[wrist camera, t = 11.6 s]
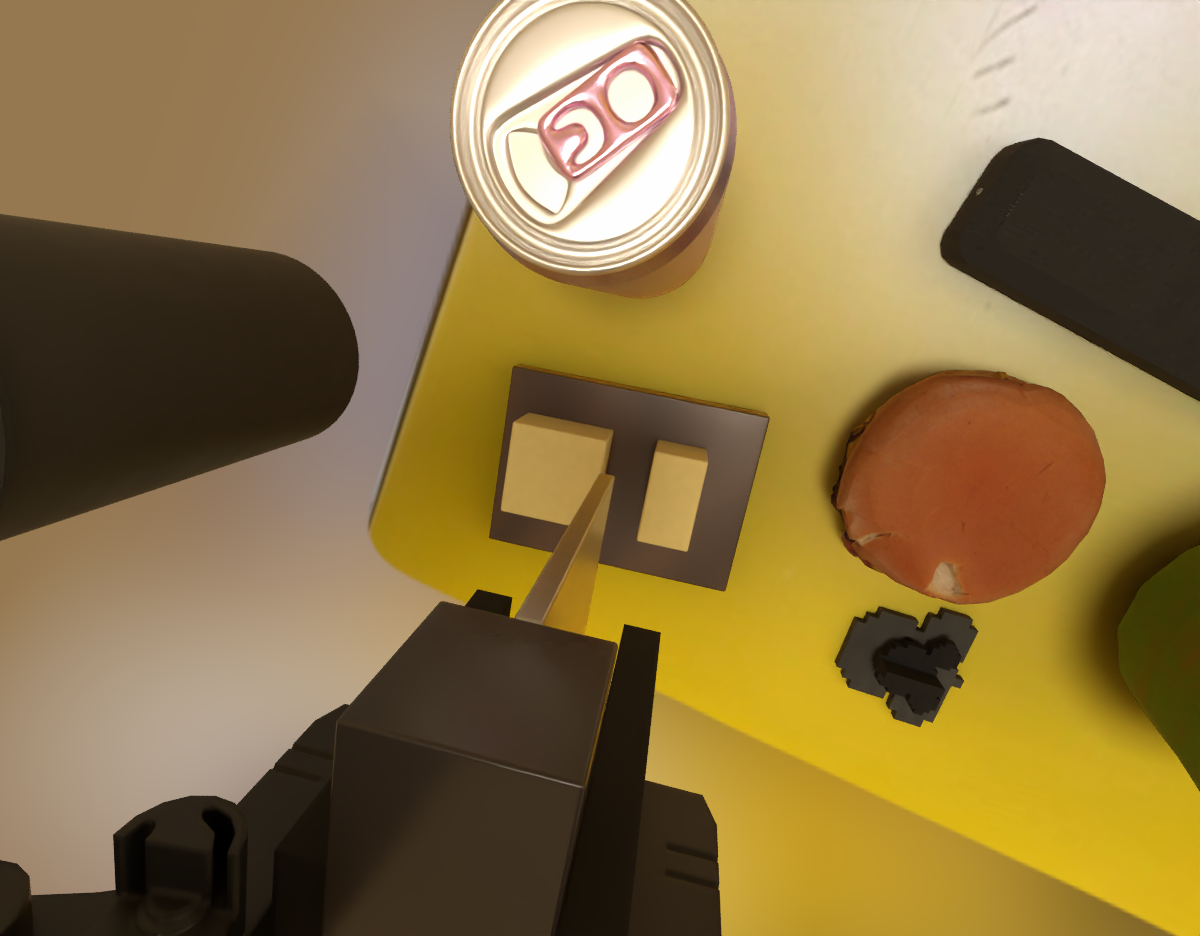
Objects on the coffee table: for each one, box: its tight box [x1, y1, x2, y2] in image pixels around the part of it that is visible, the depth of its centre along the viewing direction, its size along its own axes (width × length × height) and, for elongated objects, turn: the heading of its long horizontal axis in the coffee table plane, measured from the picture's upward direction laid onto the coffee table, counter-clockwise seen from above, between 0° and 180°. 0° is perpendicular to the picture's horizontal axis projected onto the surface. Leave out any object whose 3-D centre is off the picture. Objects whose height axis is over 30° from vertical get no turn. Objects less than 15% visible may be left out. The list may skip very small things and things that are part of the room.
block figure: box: [835, 607, 978, 727], centre depth 28 cm, size 6×2×6 cm
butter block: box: [501, 413, 613, 526], centre depth 27 cm, size 4×4×2 cm
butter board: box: [489, 364, 769, 591], centre depth 29 cm, size 12×8×1 cm
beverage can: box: [450, 0, 737, 298], centre depth 19 cm, size 6×6×15 cm
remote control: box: [941, 138, 1200, 401], centre depth 24 cm, size 5×2×15 cm
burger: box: [831, 370, 1106, 604], centre depth 25 cm, size 10×9×5 cm
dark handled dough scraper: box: [321, 473, 618, 936], centre depth 11 cm, size 7×2×10 cm, turn 170°
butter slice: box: [637, 440, 708, 552], centre depth 27 cm, size 2×4×2 cm, turn 170°
